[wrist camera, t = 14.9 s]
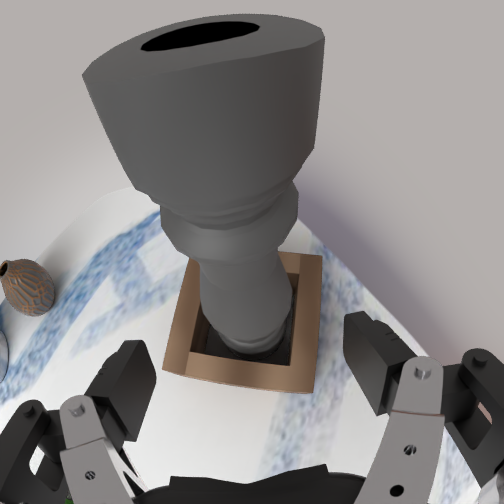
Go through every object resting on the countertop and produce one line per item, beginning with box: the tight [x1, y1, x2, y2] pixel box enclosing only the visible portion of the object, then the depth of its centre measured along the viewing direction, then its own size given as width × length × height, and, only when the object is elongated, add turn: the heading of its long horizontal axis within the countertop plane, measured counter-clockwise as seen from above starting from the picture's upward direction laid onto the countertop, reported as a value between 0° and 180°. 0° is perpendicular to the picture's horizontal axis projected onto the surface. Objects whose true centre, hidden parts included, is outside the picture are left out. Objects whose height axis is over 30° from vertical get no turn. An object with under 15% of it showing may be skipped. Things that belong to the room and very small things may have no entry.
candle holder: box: [82, 14, 325, 360], centre depth 15 cm, size 6×6×25 cm
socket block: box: [162, 251, 322, 394], centre depth 24 cm, size 12×12×5 cm
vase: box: [0, 259, 54, 316], centre depth 25 cm, size 7×7×9 cm
